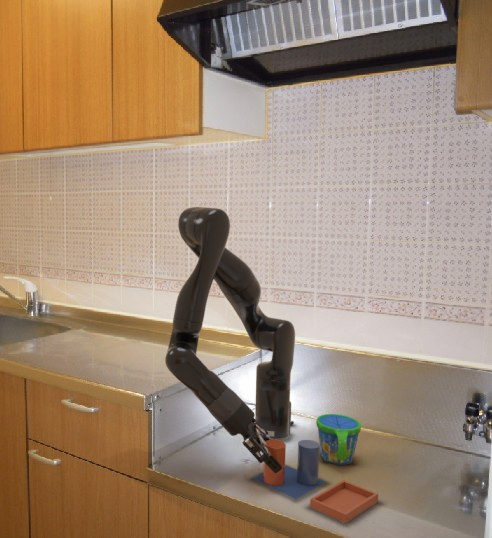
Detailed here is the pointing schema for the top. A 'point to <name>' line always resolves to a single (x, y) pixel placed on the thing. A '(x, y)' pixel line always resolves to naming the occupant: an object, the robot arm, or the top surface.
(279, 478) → the terracotta cylinder
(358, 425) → the snack cup
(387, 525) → the top surface
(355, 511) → the terracotta tray
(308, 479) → the blue cylinder
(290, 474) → the blue mat
